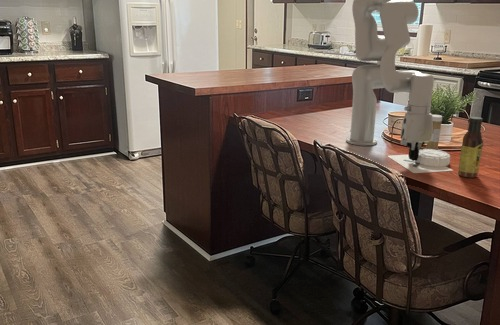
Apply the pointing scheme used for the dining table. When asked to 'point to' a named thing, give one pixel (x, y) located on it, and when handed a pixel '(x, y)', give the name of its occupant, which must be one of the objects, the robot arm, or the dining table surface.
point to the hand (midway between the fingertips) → (413, 159)
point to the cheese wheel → (433, 158)
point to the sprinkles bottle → (435, 132)
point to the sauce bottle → (471, 149)
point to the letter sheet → (416, 165)
